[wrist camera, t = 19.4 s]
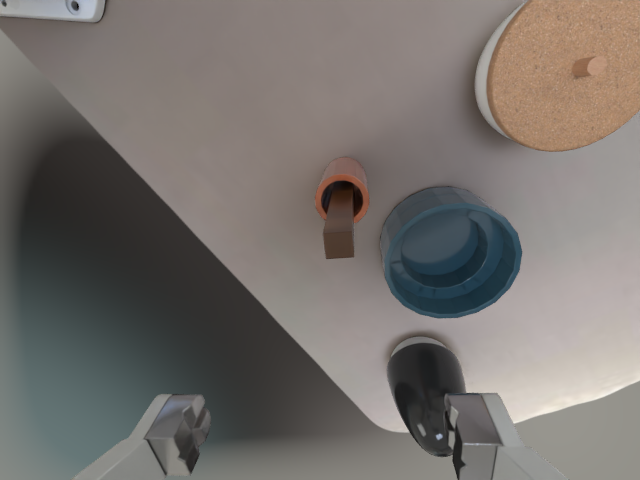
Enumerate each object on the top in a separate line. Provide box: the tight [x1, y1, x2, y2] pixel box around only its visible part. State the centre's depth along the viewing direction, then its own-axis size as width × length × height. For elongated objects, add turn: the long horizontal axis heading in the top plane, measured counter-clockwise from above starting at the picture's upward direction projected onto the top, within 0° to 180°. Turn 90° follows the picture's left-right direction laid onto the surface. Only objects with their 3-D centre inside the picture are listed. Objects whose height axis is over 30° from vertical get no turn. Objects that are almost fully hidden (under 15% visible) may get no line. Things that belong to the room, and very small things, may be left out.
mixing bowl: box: [380, 186, 522, 318], centre depth 38 cm, size 14×14×7 cm
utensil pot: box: [315, 157, 369, 223], centre depth 35 cm, size 5×5×9 cm
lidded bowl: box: [475, 0, 640, 152], centre depth 27 cm, size 13×13×11 cm
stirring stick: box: [323, 180, 354, 259], centre depth 30 cm, size 2×2×18 cm
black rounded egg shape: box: [387, 337, 466, 457], centre depth 42 cm, size 10×10×15 cm
